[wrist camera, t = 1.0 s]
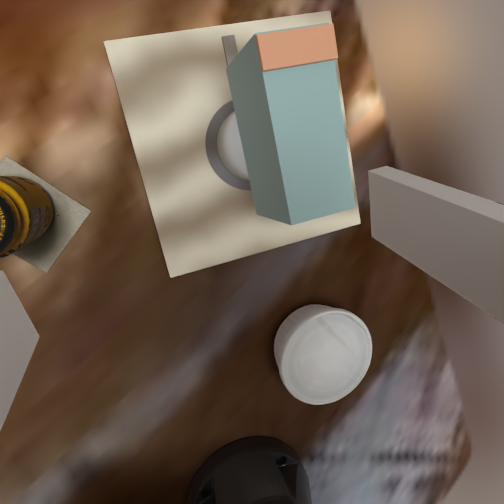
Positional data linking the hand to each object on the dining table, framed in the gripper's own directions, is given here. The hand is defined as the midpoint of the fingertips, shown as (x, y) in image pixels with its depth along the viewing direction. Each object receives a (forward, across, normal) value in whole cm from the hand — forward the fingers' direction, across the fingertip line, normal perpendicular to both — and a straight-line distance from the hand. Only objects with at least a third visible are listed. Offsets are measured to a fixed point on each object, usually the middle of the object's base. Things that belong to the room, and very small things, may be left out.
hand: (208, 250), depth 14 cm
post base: (+27, -8, +2) cm, 29 cm away
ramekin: (+23, -10, +26) cm, 36 cm away
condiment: (+26, +14, +3) cm, 30 cm away
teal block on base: (+25, -8, +1) cm, 26 cm away
